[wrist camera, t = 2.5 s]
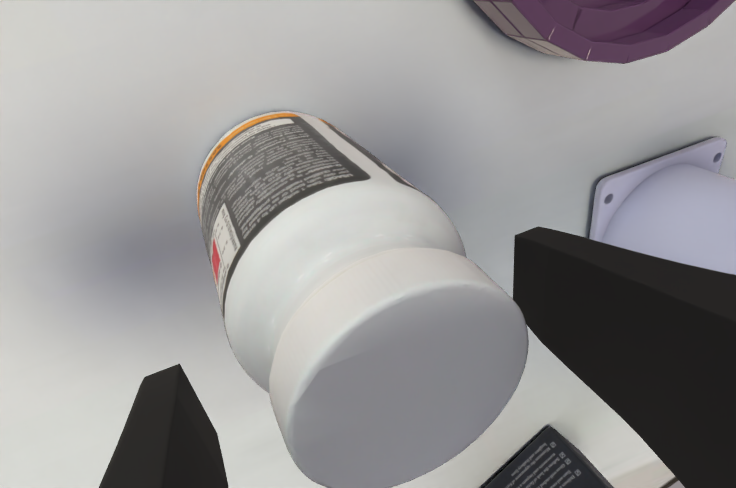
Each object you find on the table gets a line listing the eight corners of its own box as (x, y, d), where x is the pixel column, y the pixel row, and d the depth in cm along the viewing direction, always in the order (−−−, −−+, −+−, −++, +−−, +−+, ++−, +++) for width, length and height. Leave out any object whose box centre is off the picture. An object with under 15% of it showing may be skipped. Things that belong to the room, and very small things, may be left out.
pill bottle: (198, 269, 16) (246, 556, 8) (190, 100, 13) (249, 273, 5) (351, 256, 18) (507, 469, 10) (369, 109, 16) (596, 240, 8)
